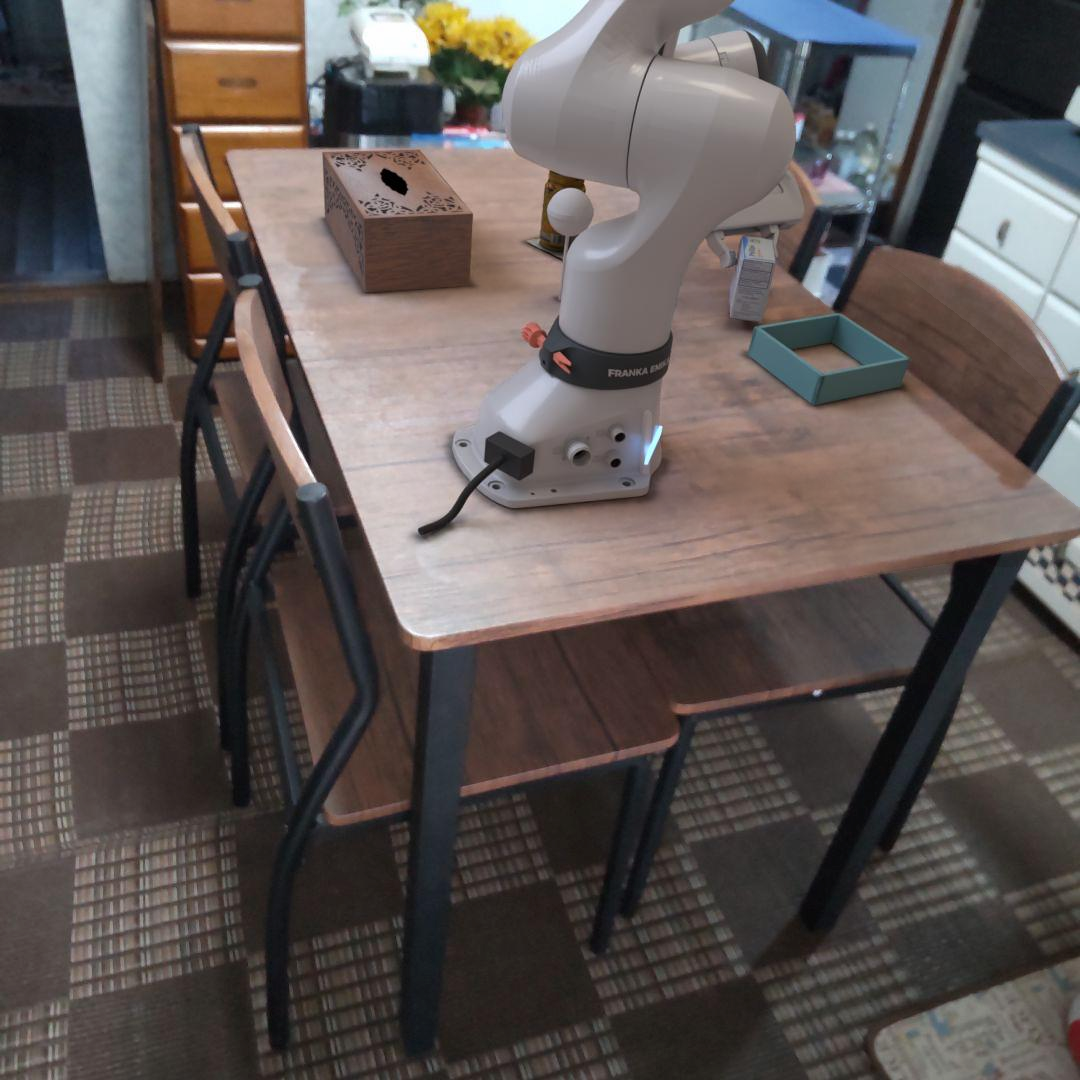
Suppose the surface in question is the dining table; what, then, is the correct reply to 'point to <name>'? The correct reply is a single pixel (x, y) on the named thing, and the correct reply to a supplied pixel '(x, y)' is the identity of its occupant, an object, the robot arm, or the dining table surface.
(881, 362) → the storage box
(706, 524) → the dining table surface
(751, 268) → the medicine box
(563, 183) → the condiment
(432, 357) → the dining table surface
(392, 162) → the tissue box cover
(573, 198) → the lollipop
